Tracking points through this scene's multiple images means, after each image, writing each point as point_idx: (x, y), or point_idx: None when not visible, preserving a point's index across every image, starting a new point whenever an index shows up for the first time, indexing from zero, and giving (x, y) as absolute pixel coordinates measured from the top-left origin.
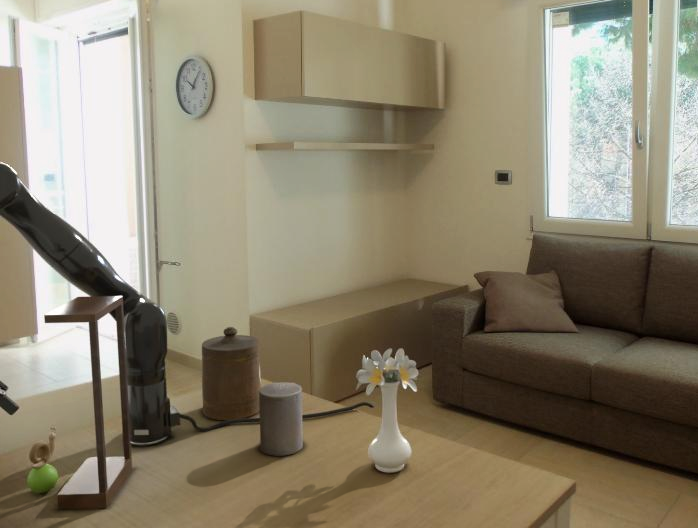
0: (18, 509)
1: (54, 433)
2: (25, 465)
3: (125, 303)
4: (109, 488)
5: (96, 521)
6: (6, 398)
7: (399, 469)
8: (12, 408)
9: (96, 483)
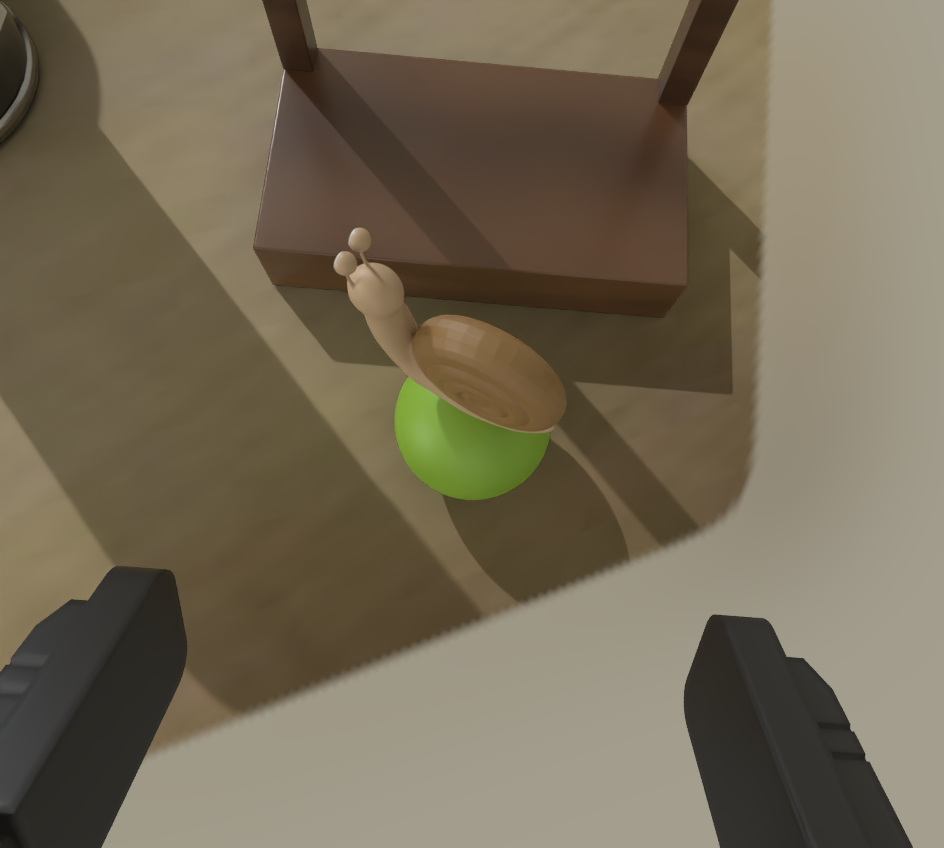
0: (642, 499)
1: (366, 263)
2: None
3: None
4: (633, 78)
5: (766, 145)
6: (46, 759)
7: None
8: (152, 643)
9: (584, 138)
